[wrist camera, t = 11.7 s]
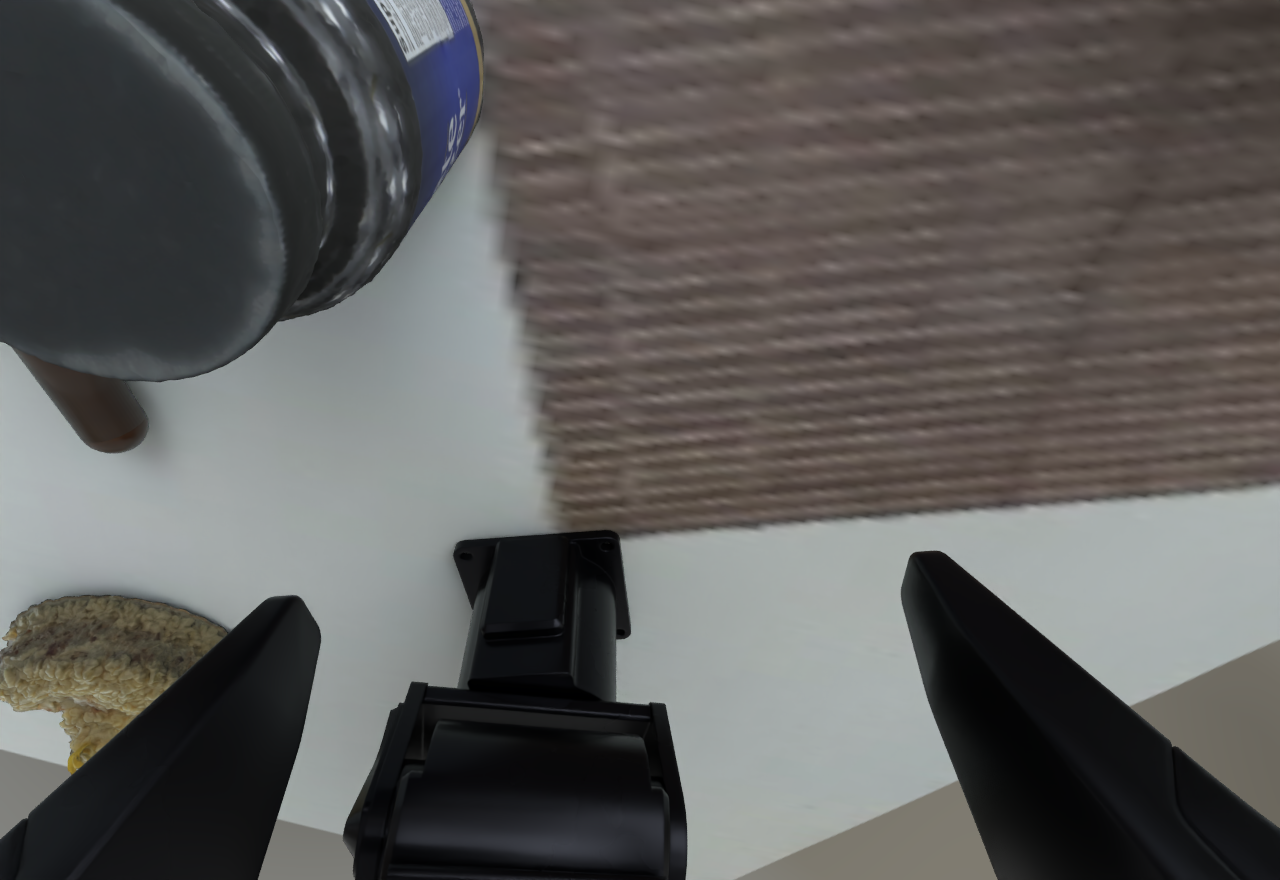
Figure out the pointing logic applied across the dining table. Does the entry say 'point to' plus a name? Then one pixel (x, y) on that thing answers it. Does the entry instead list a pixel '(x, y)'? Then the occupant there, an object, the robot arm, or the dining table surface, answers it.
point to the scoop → (92, 405)
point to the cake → (98, 662)
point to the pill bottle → (214, 166)
